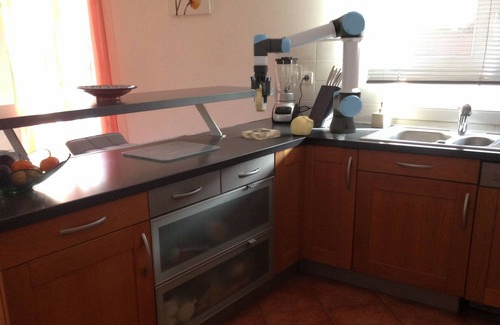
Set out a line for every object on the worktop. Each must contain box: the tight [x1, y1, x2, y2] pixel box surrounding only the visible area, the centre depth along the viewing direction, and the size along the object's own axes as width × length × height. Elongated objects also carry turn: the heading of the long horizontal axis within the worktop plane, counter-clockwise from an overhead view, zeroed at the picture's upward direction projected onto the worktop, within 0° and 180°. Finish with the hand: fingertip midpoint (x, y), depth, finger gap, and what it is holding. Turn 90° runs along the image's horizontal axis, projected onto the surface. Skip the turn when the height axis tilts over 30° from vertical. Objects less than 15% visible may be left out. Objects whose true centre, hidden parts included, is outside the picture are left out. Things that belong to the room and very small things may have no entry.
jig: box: [241, 128, 281, 141], centre depth 243 cm, size 14×16×3 cm
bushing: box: [255, 88, 266, 113], centre depth 239 cm, size 5×5×12 cm
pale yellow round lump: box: [290, 115, 315, 136], centre depth 246 cm, size 12×12×11 cm
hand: (260, 108), depth 240 cm, fingers closed on bushing, 5 cm apart
